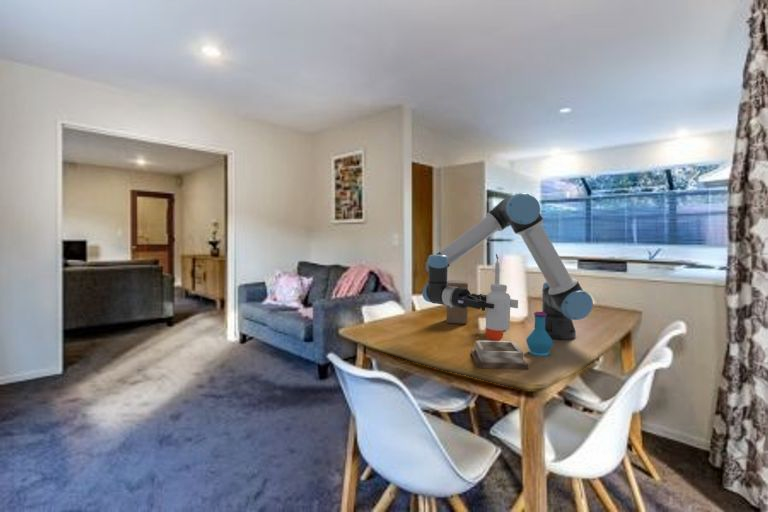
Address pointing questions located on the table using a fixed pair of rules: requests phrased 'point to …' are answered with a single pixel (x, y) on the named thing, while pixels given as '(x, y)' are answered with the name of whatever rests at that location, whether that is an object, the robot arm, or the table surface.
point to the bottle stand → (498, 355)
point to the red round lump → (494, 335)
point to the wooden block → (456, 313)
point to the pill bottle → (498, 318)
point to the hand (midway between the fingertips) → (510, 305)
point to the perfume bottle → (539, 337)
